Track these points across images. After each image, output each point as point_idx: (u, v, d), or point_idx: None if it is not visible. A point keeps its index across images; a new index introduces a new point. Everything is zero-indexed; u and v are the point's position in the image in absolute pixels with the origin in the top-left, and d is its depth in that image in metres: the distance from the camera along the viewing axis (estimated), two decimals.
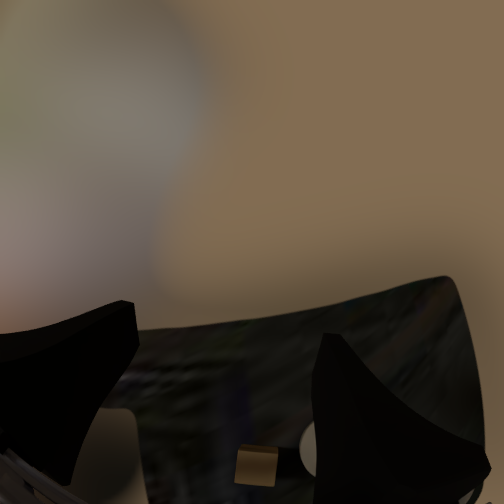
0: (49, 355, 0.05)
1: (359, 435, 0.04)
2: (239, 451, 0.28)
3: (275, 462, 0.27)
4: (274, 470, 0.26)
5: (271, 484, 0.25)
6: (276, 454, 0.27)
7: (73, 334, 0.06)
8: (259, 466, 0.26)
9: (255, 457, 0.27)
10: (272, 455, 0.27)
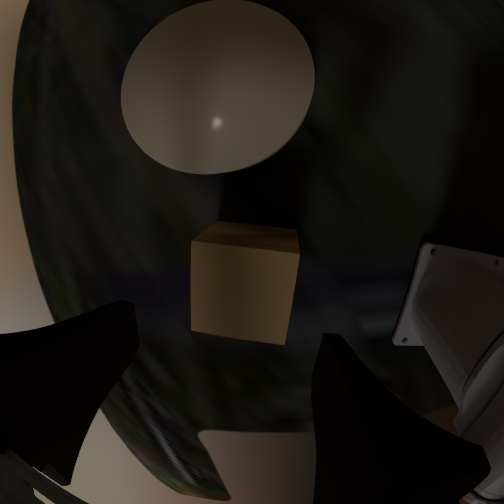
0: (49, 355, 0.05)
1: (359, 435, 0.04)
2: (194, 328, 0.14)
3: (217, 248, 0.13)
4: (243, 251, 0.13)
5: (292, 260, 0.12)
6: (194, 245, 0.13)
7: (73, 334, 0.06)
8: (231, 289, 0.13)
9: (205, 296, 0.14)
10: (197, 256, 0.13)
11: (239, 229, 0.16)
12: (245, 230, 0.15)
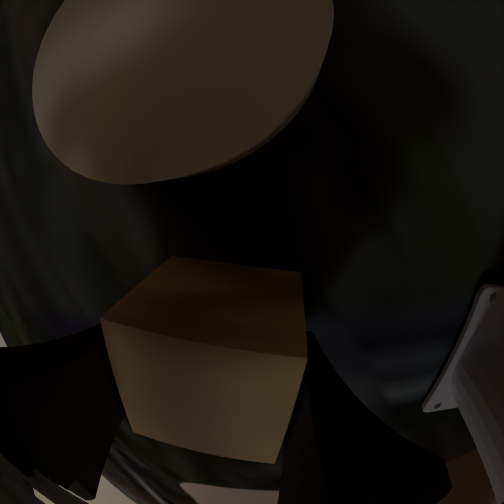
0: (76, 368, 0.05)
1: (309, 435, 0.04)
2: (135, 430, 0.07)
3: (144, 337, 0.06)
4: (192, 349, 0.06)
5: (292, 368, 0.06)
6: (106, 325, 0.06)
7: (100, 344, 0.06)
8: (180, 399, 0.06)
9: (140, 400, 0.07)
10: (113, 343, 0.06)
11: (200, 279, 0.09)
12: (210, 281, 0.09)
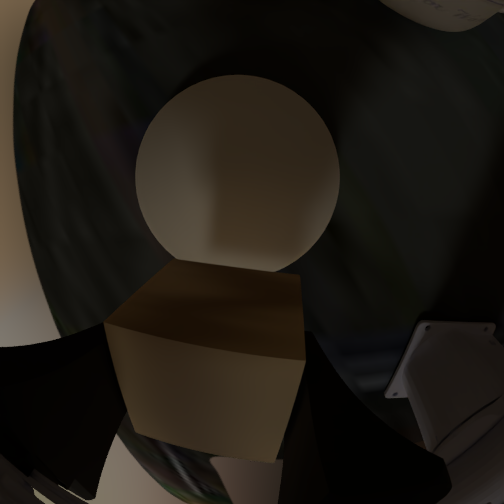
0: (76, 368, 0.05)
1: (309, 434, 0.04)
2: (138, 430, 0.08)
3: (147, 341, 0.06)
4: (194, 352, 0.06)
5: (290, 370, 0.06)
6: (109, 328, 0.06)
7: (100, 344, 0.06)
8: (182, 400, 0.07)
9: (143, 402, 0.07)
10: (117, 347, 0.06)
11: (201, 282, 0.09)
12: (211, 285, 0.09)
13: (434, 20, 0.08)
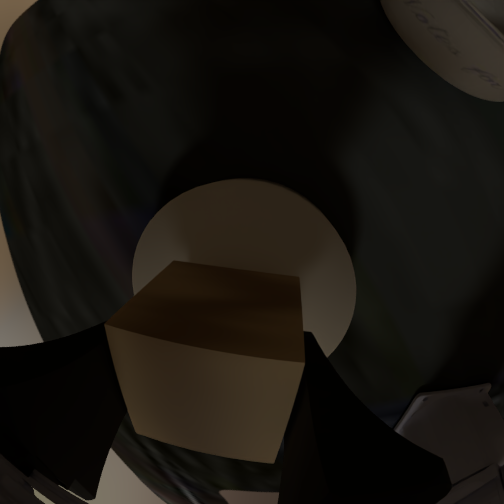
0: (76, 368, 0.05)
1: (309, 434, 0.04)
2: (138, 431, 0.08)
3: (147, 343, 0.06)
4: (194, 354, 0.06)
5: (290, 372, 0.06)
6: (110, 330, 0.06)
7: (100, 344, 0.06)
8: (182, 401, 0.07)
9: (144, 403, 0.07)
10: (118, 348, 0.06)
11: (201, 284, 0.09)
12: (211, 287, 0.09)
13: (483, 94, 0.07)
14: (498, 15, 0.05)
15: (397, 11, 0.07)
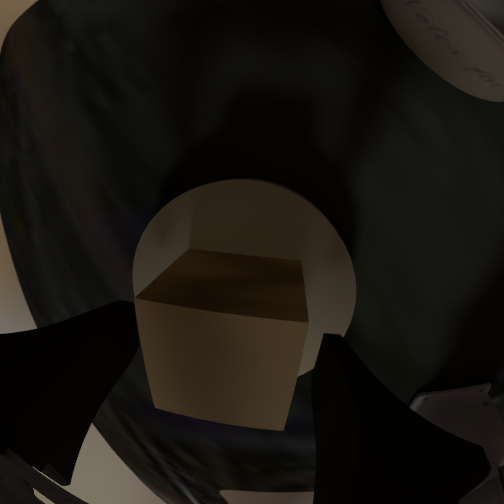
0: (49, 355, 0.05)
1: (359, 435, 0.04)
2: (157, 405, 0.09)
3: (173, 312, 0.07)
4: (215, 318, 0.07)
5: (296, 332, 0.07)
6: (139, 304, 0.08)
7: (73, 334, 0.06)
8: (202, 368, 0.08)
9: (165, 373, 0.08)
10: (145, 320, 0.08)
11: (216, 267, 0.10)
12: (224, 268, 0.10)
13: (483, 94, 0.07)
14: (498, 15, 0.05)
15: (397, 11, 0.07)
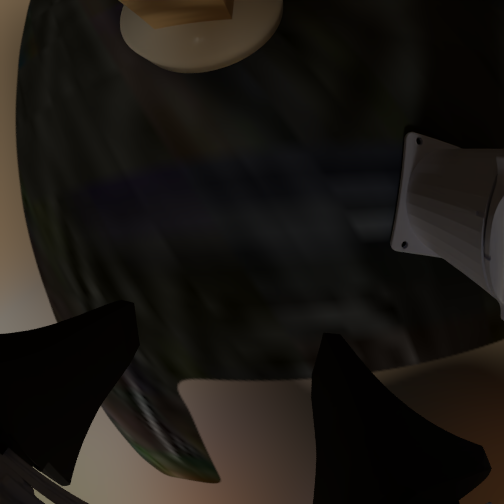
0: (49, 355, 0.05)
1: (359, 435, 0.04)
2: None
3: None
4: None
5: None
6: None
7: (73, 334, 0.06)
8: None
9: None
10: None
11: None
12: None
13: None
14: None
15: None
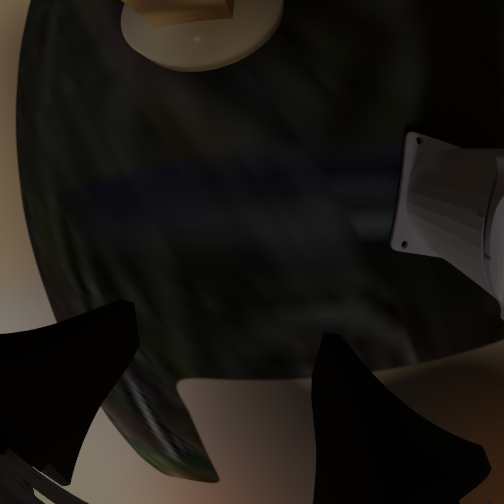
0: (49, 355, 0.05)
1: (359, 435, 0.04)
2: None
3: None
4: None
5: None
6: None
7: (73, 334, 0.06)
8: None
9: None
10: None
11: None
12: None
13: None
14: None
15: None
